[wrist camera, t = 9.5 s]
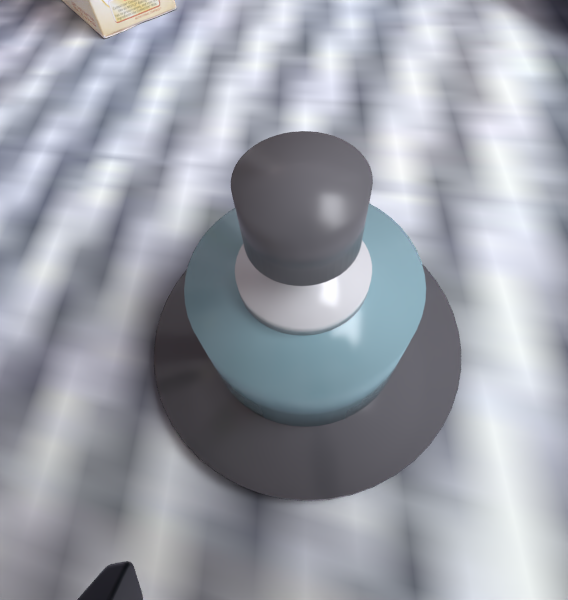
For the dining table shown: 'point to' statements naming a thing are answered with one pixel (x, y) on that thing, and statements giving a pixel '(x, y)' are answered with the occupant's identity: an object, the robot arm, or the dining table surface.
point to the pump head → (302, 206)
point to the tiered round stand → (308, 365)
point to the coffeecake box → (118, 13)
